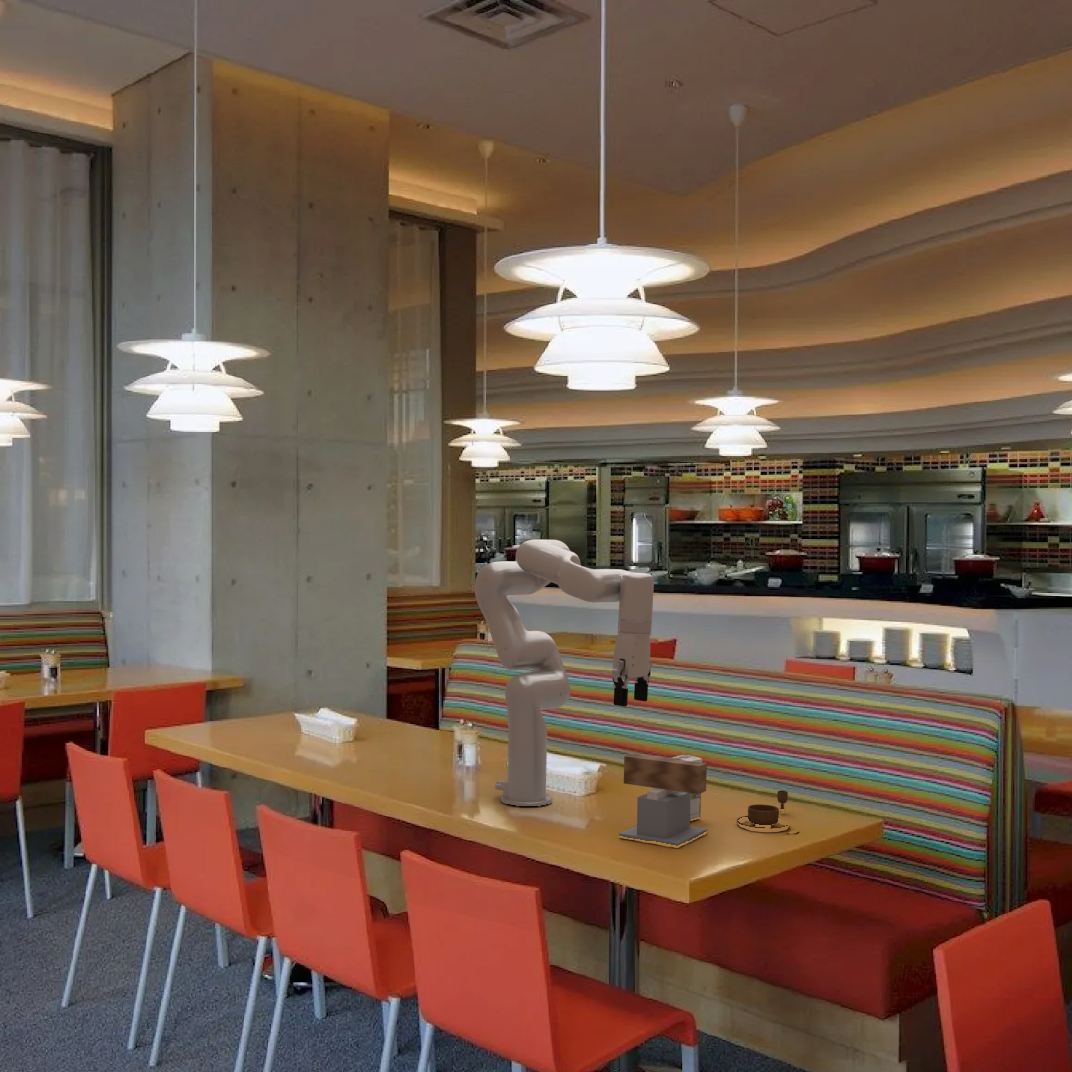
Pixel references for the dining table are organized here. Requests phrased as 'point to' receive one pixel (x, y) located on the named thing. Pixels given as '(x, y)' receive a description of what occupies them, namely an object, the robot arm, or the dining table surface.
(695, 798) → the syrup box
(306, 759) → the dining table surface
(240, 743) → the dining table surface
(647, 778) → the walnut bar
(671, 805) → the stand
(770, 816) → the place setting
